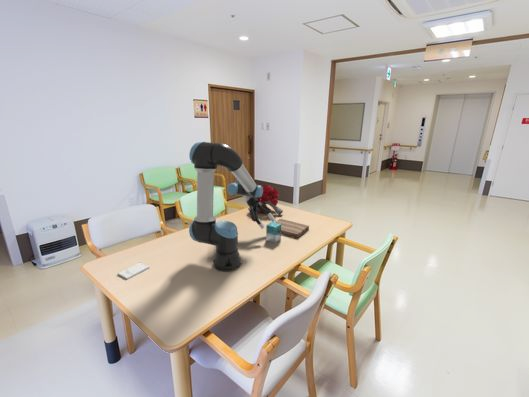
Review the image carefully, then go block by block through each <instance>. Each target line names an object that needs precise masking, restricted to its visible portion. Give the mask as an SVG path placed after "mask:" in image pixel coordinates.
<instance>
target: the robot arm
mask: <svg viewBox="0 0 529 397" xmlns="http://www.w3.org/2000/svg"><path fill="white" fill-rule="evenodd" d="M189 150H190V151H189V160H190V162H191V164H193V165H194V166H193V167H194V169H195V171H196V172H197V173H196V174H197V175H196V178H197V179H196V185H197V186H196V216H195V217H194V218H193V220H192V221H191V222H190V226H189V227H188V228H189V229H188V233H189V236H190V239H191V240H193V241H195V242H197V243H200V244H207V245H212V246H214V247H215V255H214V258H213V264H212V266H213V268H214V269H216V270H218V271H219V272H220V271H221V272H232V271H235V270H237V269H238V268H240V267H242V258H241V256H240V252H239V248H238V247H239V246H238V243H239V242H238V241H239V240H238V237H239V236H238V235H239V232H238V227H237V225H236V224H235V223H234V222H232V221H228V220H224V221H223V220H220V221H216V220H217V218H216V217H215V216H214V192H215V191H214V187H215V185H214V184H215V172H216V171H217V170H218V167H222V168H225V170H227V171H228V172H230V173H231V174H232V175H233V176H234V177H235V178H236V180H235V181H234V182H231V183H229V184H228V185H227V187H226V191H227V193H228V195H230V196H236V195H237V196H241V197H242V198H243V199H244V202H246V204H247V206H248V208H247V209H248V212H249V214H250V218H251V221H253V222H255V223H257V226H259V227H260V229H261V230H263V229H264V228H266V226H265V225H264V223H263V222H262V221H261V219H260V218H259V215H258V212H259V211H258V210H261V211H263V212H265V213H264V214H266V215H267V217H268V218H269V219H270V221H271V222H275V221H276V218H275V217H274V215H273V214H272V213H271V212H272V209H271V208H269V207H268V206H266V205H267V204H266V205H264V204H263V203H262V202H260V203H259V202H258V199H257V198H256V197H261V196H262V194H263V187H262V186H261V185H259V184H257V183H256V182H255V181H254V179H253V178H252V176H251V174H250V173H249V172H248V169H247V168H246V167H245V165H244V164H243V163H244V160H243V159H242V157H241V156H240V154H239V153H238V152H237V151H236V150H235V149H233V147H231V146H230V145H227V144H226V143H222V142H207V141H200V142H199V141H198V142H196V143H194V144H193V145H192V146H191V147H190V149H189ZM263 212H262V213H263Z"/></svg>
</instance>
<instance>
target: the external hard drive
mask: <svg viewBox="0 0 529 397" xmlns="http://www.w3.org/2000/svg"><path fill="white" fill-rule="evenodd" d="M149 269H150V266H149V265H147V264H146V263H145V264H144V263H142V262H138V263H135V264H134V265H132V266H130V267H128V268H125V269H124V270H122V271H121V270H120V272H117V275H118V276H119V277H123V279H125V280H127V281H128V280H129V279H132V278H133V277H135V276H137V275H139V274H142V273H143V272H145V271H147V270H149Z"/></svg>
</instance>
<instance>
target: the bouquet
mask: <svg viewBox="0 0 529 397" xmlns="http://www.w3.org/2000/svg"><path fill="white" fill-rule="evenodd" d="M260 186H262V187H263V194H262V196H261V197H256V198H257V199H258V202H259V203H260V202H262V203H263V204H264V205H266V206H267V205H268V206H270V207H271V208H272V209H273V210H274V212H275V213H276V214H277V215H278V216H281V215H282V214H283V213H284V210H283V209H282V208H280V207H278V206H277V205H278V203H279V198H280V196H279V195H280V194H279V192H278V190H277V189H276V188H275V187H272V186H271V185H266V184H262V185H261V184H260ZM268 206H267V207H268ZM257 212H261V213H263V214H266V213H265V212H263V211H261V210H258V211H257Z"/></svg>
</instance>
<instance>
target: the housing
mask: <svg viewBox="0 0 529 397" xmlns="http://www.w3.org/2000/svg"><path fill="white" fill-rule="evenodd" d="M265 228H266V231H265V232H266V234H265V236H266V238H265V240H266V242H270V243H274V244H277V243H278V242H279V241H281V239H282V234H281V224H280V223H276V222H275V221H274V222H272V221H271V222H269V223H267V224H266V226H265Z"/></svg>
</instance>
